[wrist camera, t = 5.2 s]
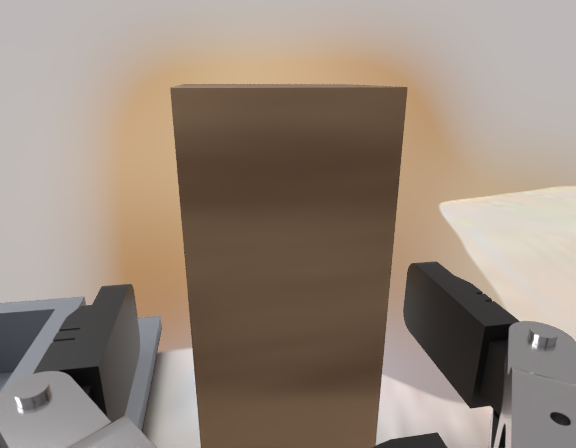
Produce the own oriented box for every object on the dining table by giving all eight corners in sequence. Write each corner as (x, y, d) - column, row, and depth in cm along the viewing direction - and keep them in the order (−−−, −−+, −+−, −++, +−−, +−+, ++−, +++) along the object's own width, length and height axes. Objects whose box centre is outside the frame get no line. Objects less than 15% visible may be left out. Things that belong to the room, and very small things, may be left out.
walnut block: (212, 466, 16) (184, 84, 12) (325, 449, 17) (340, 83, 12) (213, 601, 12) (170, 87, 8) (363, 571, 13) (407, 87, 8)
